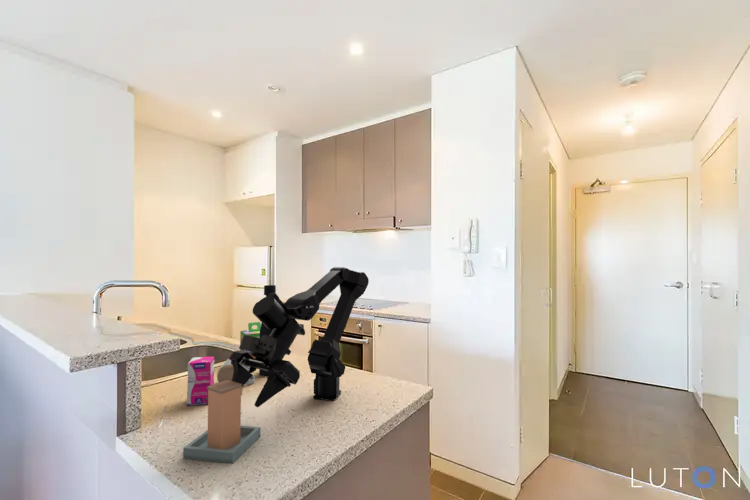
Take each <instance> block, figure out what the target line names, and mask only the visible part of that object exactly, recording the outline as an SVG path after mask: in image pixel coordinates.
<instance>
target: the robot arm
mask: <svg viewBox="0 0 750 500" xmlns="http://www.w3.org/2000/svg"><path fill="white" fill-rule="evenodd" d="M369 281H370V280H369V277H368V276H367V274H366V273H365V272H363V271H361V272H360V271H355V270H353V269H352V270H351V269H349V268H346V267H343V266H334V267H332V268H330V270H329V272H327V273H326V274H325V275H324V276H322V277H321V278H320V279H319V280H318V281H316V282H315V283H314V284H313V285H312V286H310V287H309V288H308V289H306V290H305V291H301V292H299V293H296V294H294V295H292V296H291V297H289V298H288V299H287V300H286V301H285V302H283V301H282V300H281V298H280V297H279V295H278V294H277V293H276V294H275V293H270V294H269V295H268V296H267V297H266V296H265V297H262V298H261V299H260V300H259V301H258V302H256V303H255V304H254V305H253V307H252V314H253V315H254V316H255V318H257V320H258V321H259V322H260V323H263V324H264V325H265V326H266V327H267V328H268V329H273V331H272V332H271V334H270V335H269V336H267V335H263V336H262V337H261V338H257V337H252V336H247V335H244V336H243V339H242V341H241V344H239V348H238V349H239V350H238V349H237V350H234V351H233V352H232V353H231V355H230V356H229V357H228V359H229V360H231V364H232V365H233V369H234V373H233V378H232V381H233V382H237V383H240V384H242V387H241V388H242V389H243V387H244V386H245V385H246V382H247V381H248V380H251V379H250V378H251V377H252V376H253V375H254V374H253V375H252V373H254V372H256V371H257V370H259V369H260V370H264V371H268V375H267V376H266V378H267V379H266V381H265V383H264V385H263V386H262V389H261V390H260V392H259V394H258V396H257V398H256V400H255V402H254V406H255V408H259V407H261V406H262V405H264V404H265V403H266V402H267V401H269V400H270V399H271V398H273V397H274V396H275V395H277V394H278V393H280V392H281V391H283V390H284V389H286V388H291V386H292V385H297V383H298V382H299V380H300V376H301V375H300V373H301V372H300V370H299V369H298V368H297V367H296V366H295V365H294V364H293V363H292V362H291V361H289V360H286V359H284V358H285V356H286V355H287V356H290V355H291V353H292V350H290V347H291V346H292V344H293V343H294V341H295V339H296V337H297V336H298V335H299V336H300V335H301V336H305V335H306V330H305V328H304V326H305V325H304V324H302V323H299V322H298V321H297V320H299V321H310V320H312V319H313V318H314V316H315V315H316V313H317V312H318V311H319V309H320V306H321V305H320V304H321V303H322V301H324V300H325V299H326V298H327V297H328V296H329V295H330V294H331V293H333V291H334V290H335V289H336V288H338V286H339V290H340V291H339V292H340V296H339V299H338V301H337V303H336V305H335V308H334V310H333V313H332V315H331V317H330V320H329V322H328V325H327V327H326V329H325V332H324V335H322V336H323V337H321V338H320V339H314V340H313V341H312V343H311V347H310V349H309V350H308V352H307V353H308V356H307V362H308V365H309V369H310V373H311V374H315V378H314V379H313V397H312V398H313V399H315V400H327V401H328V400H329V401H336V400H337V399H338V397H339V395H341V393H342V390H340V378H341V377H342V376H343V375H344V374H345V371H346V365H345V364H344V363H343V362H342V361H341V359H340V357H341V354H342V352H341V347H340V342H341V339H342V337H343V334H344V331H345V329H346V326H347V324H348V321H349V320H350V319H349V318H350V316H351V313H352V311H353V308H354V306H355V303H356V301H357V300H358V299H359V298H361V297H362V296H363V295H364V294H365V292H366V290H367V288H368V286H369ZM240 349H241V350H243V349H244V350H247V351H251V353H250V354H251V355H252V356H254V357H256V358H255V359H254V358H253V357H252V356H251V355H250V354H249V353H247V352H244V351H240ZM260 364H261V365H260Z"/></svg>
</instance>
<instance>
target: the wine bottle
mask: <svg viewBox="0 0 750 500" xmlns="http://www.w3.org/2000/svg"><path fill="white" fill-rule="evenodd" d="M276 288H277V287H276V284H275V285H274V284H267V285H266V284H265V285H264V286H263V296H265V297H267V296H268V295H269V294H270V293H275V294H277V292H276V291H277V289H276ZM260 323H261V327H260V338H261V337H262V336H263V335H267V336H269V335H270V334H271V332H272V331H273V329H268V328H267V327H266V326H265V325H264V324H263V323H262V322H260ZM260 365H261V364H260ZM258 372H259V373H258V374H259V376H261V377H267V375H268V371H264V370H260V369H258Z"/></svg>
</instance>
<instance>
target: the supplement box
mask: <svg viewBox="0 0 750 500" xmlns="http://www.w3.org/2000/svg"><path fill="white" fill-rule="evenodd" d="M214 379H215V356H214V355H213V356H200V357H199V356H196V357H192V358H191V359H190V361H189V362H188V363H187V390H186V391H187V392H186V393H187V394H186V395H187V396H186V406H187V407H188V406H198V405H208V390H207V386H210V385H214V384H215V382H214V381H215V380H214Z"/></svg>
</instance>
